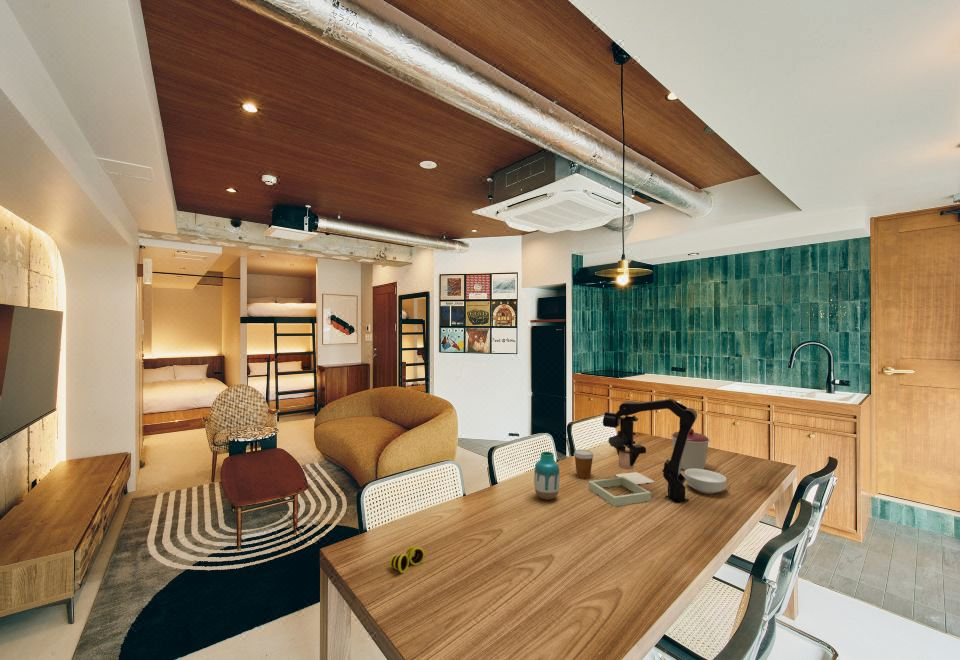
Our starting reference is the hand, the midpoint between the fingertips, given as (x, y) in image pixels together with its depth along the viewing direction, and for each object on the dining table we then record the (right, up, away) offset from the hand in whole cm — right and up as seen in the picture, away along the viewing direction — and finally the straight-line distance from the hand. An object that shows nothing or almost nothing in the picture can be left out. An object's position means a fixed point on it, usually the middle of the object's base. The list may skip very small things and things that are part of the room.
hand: (626, 463), depth 182 cm
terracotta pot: (0, -2, 0) cm, 2 cm away
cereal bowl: (+35, -12, -2) cm, 37 cm away
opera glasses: (-89, -11, -61) cm, 109 cm away
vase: (-39, -11, -12) cm, 42 cm away
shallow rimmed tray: (-6, -11, -8) cm, 15 cm away
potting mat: (+8, -11, +10) cm, 17 cm away
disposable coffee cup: (-16, -11, +13) cm, 23 cm away
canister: (+43, -12, +26) cm, 51 cm away
